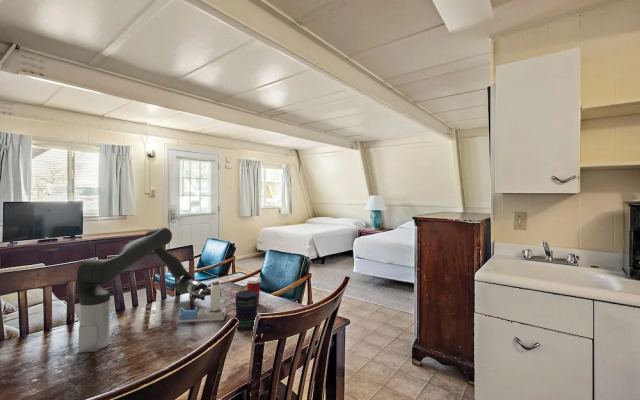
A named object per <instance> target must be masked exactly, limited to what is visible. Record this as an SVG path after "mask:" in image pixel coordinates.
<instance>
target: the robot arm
mask: <svg viewBox="0 0 640 400" xmlns="http://www.w3.org/2000/svg"><path fill="white" fill-rule="evenodd" d="M172 238H173V233H172V231H171V230H170V228H168V227H158V228H155V229H151V230H148V231H147V232H145V236H144V237H140V238H137V239H134V240H132V241H129V242H128V243H126V244H124V245H123V246H121V247H120V248H119V250H118V251H117V252H118V253H117V255H116V256H114V257H111V258H108V259H107V258H105V259H98V258H97V259H96V258H92V259H91V258H90V259H86V260H83V261H82V262H81V263H80V264H79V266H78V268H77V272H76V288H77V289H76V290H77V297H78V299H79V325H78V342H77V343H78V344H77V345H78V350H77V351H78V353H79V354H80V353H92V352H93V353H94V352H98V351H100V350H101V349H104V348H105V347H107V346H109V344H110V325H111V324H110V323H111V322H110V317H111V314H110V313H111V293H110V292H109V291H108V290H107V289H104V288H103V287H102V286H100V285H104V284H108V283H109V282H112V281H113V280H114V279H115V278H116V277H118V276H119V275H120V274H121V273H122V272H124V271H125V270H127V269H128V268H130V267H131V266H133V265H134V264H136V263H138V262H140V261H141V260H143V259H144V258H145V257H147V256H148V255H150V254H152V253H154V254H155V255H156V256H157V257H158V258H159V259H160V260H161V261H162V263H163V264H164V265H165V267H166V268H167V270H168V272H169V273H170V274H171V276H172V278H174V279H177V278H178V280H176V281H175V283H174V289H175V290H176V291H177V292H178V293H182V294H186V293H187V294H189V298H190V299H192V300H194V301H195V300H201V301H205V300H206V299H205V297H208V296H210V297H211V287H209V286H208V285H207V284H206V283H203V282H201V281H198V280H195V277H194V276H193V275H192V274H191V273H190V272H188V270H186V269H185V267H184V265H183V263H182V261H181V260H180V259H179V258H178V257H176V256H175V255H174V254H173V253H171V252H169V251H168V250H166V249H165V248H164V246H166V245H168V244H169V243H170V242H171V241H172ZM220 297H222V289H221V290H220Z"/></svg>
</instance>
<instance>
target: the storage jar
mask: <svg viewBox="0 0 640 400" xmlns="http://www.w3.org/2000/svg"><path fill="white" fill-rule="evenodd" d="M257 295H258V292H256V291H253V290H239V291H238V292H235V318H237V319H238V320H239V324H238V327H237V330H236V331H239V332H250V331H252V330H254V329H253V326H254V320H255V317H256V315H257V316H258V306H259V304H258V296H257ZM257 305H258V306H257Z"/></svg>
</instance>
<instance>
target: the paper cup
mask: <svg viewBox="0 0 640 400" xmlns="http://www.w3.org/2000/svg"><path fill="white" fill-rule="evenodd" d="M245 281H246V289H247V290H253V291H256V292H258V295H257V296H258V305H259V303H260V302H259V301H260V291H261V282H262V281H261V278H260V277H248V278H247V280H245Z"/></svg>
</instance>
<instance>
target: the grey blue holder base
mask: <svg viewBox="0 0 640 400" xmlns="http://www.w3.org/2000/svg"><path fill="white" fill-rule="evenodd" d="M226 313H227V307H226V306H223V309H222V311H221V312H217V313H210V307H200V308H199V310H198V307H197V306H196V307H194V309H189V310H186V309H185V308H184V307H180V312H179V314H178V323H191V322H192V323H193V322H210V321H213V322H214V321H224V320H225V317H226Z"/></svg>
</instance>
